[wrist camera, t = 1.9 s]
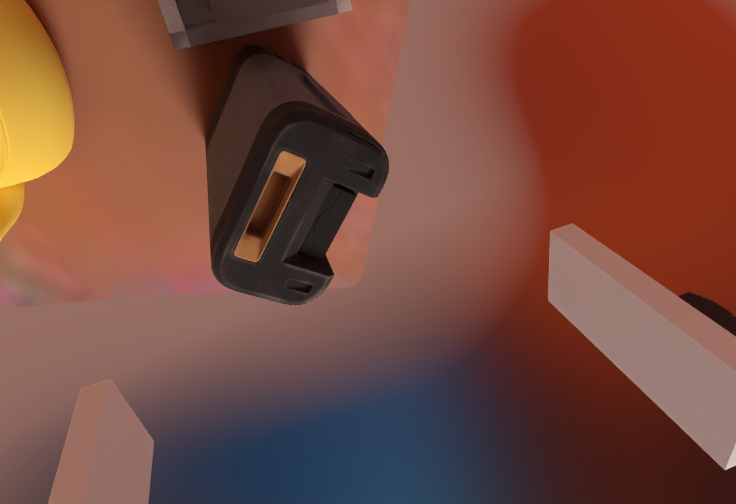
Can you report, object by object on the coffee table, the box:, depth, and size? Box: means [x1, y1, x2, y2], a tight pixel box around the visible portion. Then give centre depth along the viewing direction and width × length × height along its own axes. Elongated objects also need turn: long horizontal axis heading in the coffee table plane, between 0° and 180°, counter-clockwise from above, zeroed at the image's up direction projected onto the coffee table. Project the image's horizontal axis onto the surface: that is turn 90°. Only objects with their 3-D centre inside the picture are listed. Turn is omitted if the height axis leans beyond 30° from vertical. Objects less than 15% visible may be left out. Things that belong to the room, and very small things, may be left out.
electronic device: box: [205, 45, 389, 305], centre depth 30 cm, size 9×6×20 cm, turn 150°
